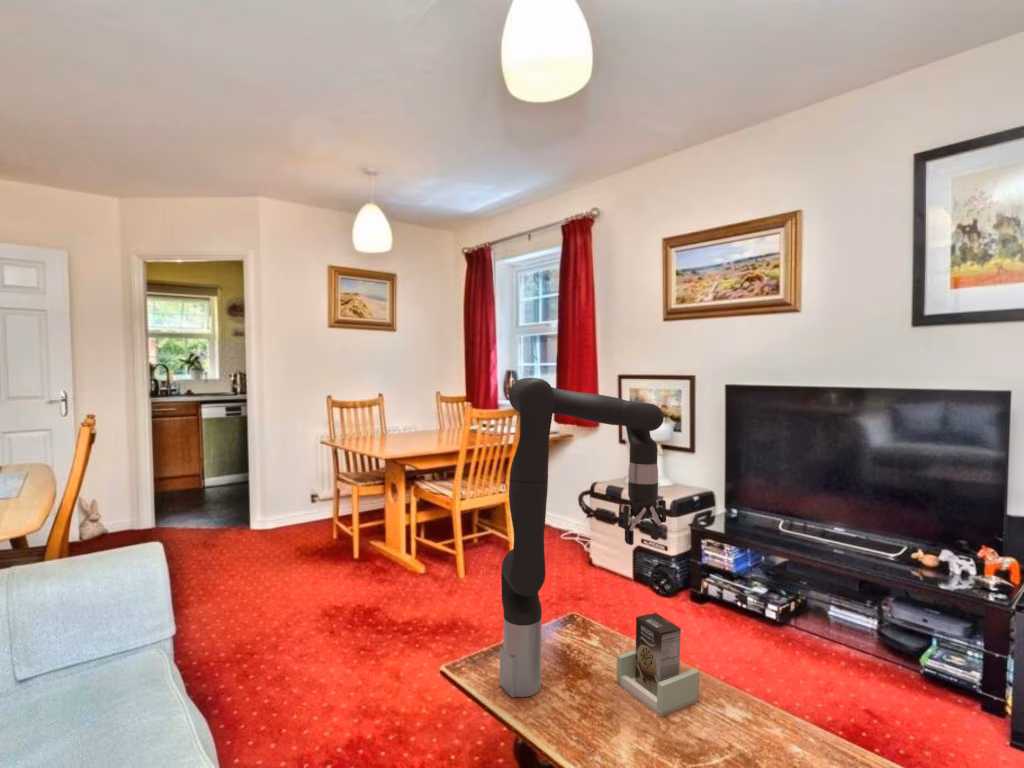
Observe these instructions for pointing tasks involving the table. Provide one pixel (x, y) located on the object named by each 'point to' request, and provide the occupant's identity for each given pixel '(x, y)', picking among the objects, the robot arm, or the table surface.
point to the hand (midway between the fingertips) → (642, 541)
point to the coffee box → (656, 651)
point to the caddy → (659, 687)
